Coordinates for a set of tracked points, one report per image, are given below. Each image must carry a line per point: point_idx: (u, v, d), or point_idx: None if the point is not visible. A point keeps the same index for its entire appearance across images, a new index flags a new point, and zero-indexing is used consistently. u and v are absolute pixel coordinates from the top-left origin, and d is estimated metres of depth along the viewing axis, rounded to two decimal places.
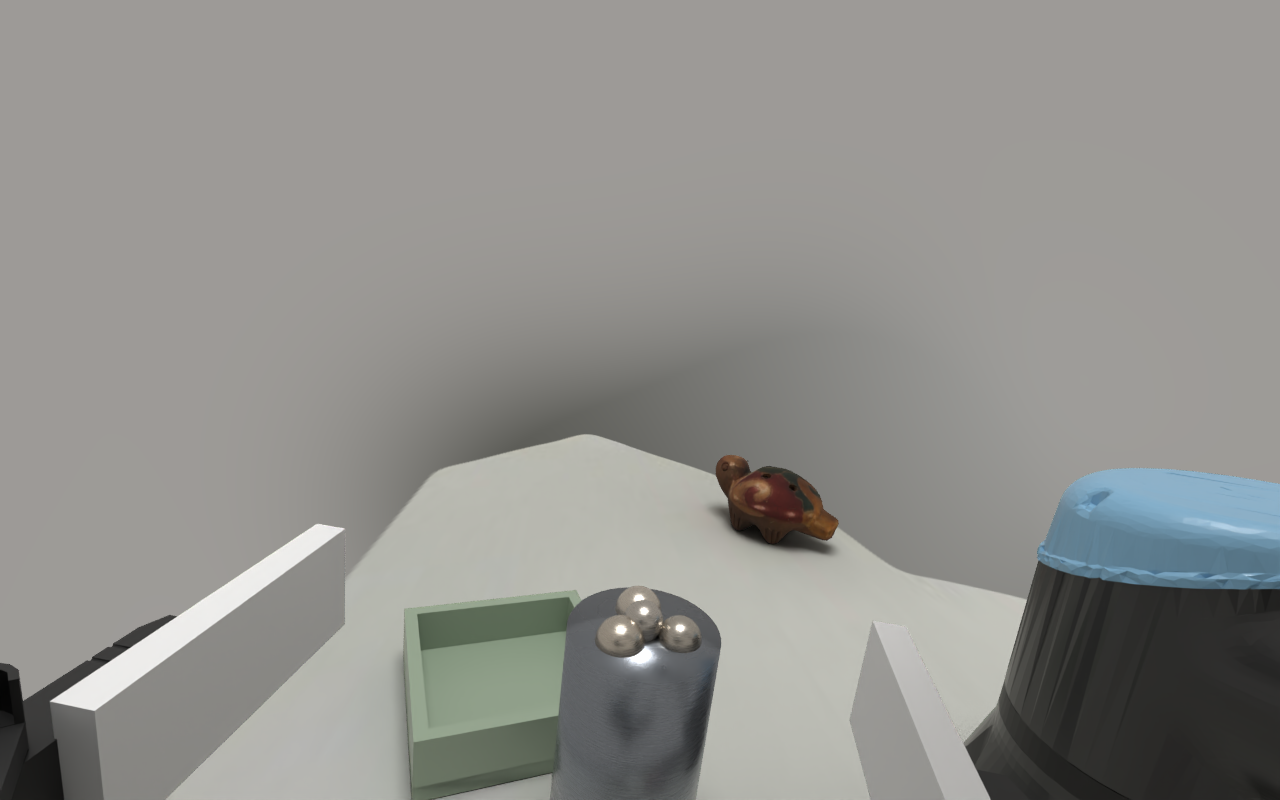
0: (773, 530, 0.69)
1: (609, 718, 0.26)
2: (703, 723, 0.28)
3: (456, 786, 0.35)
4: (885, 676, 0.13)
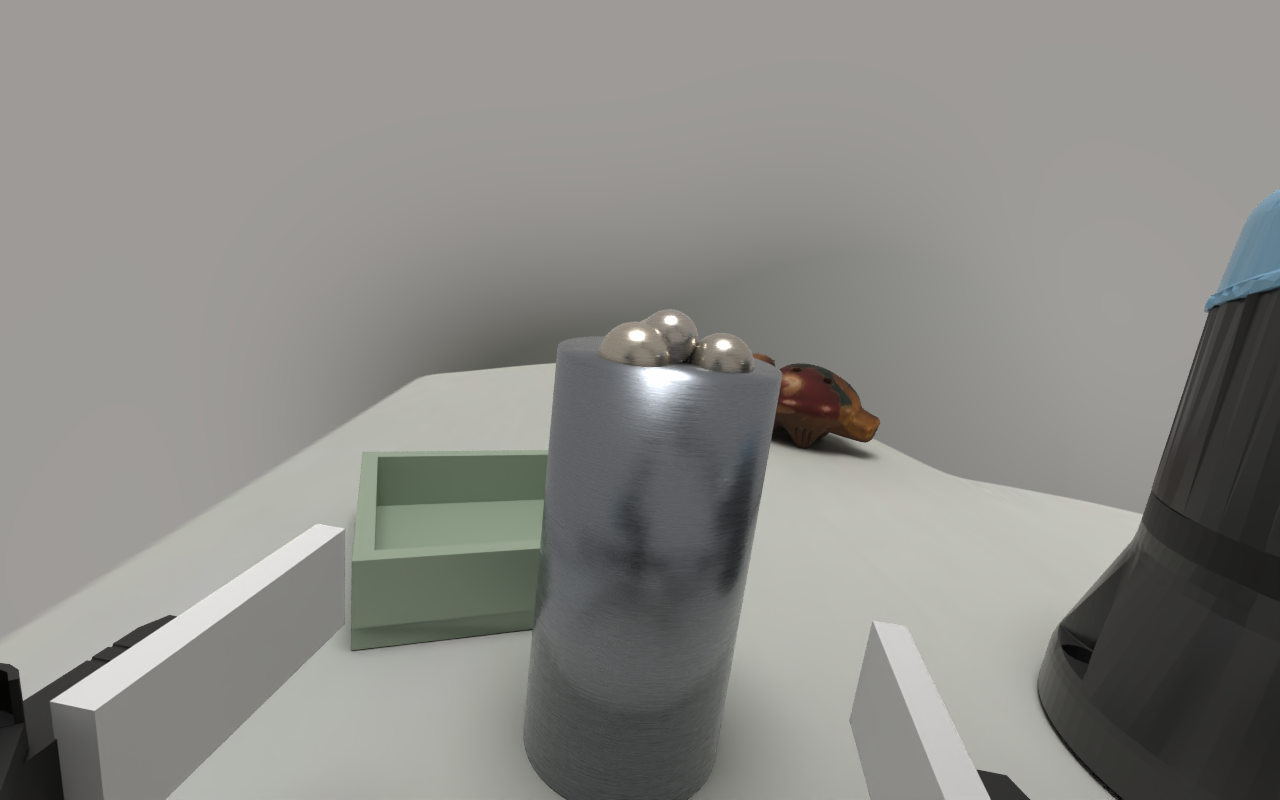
0: (804, 430, 0.60)
1: (620, 447, 0.17)
2: (757, 482, 0.19)
3: (412, 633, 0.27)
4: (885, 676, 0.13)
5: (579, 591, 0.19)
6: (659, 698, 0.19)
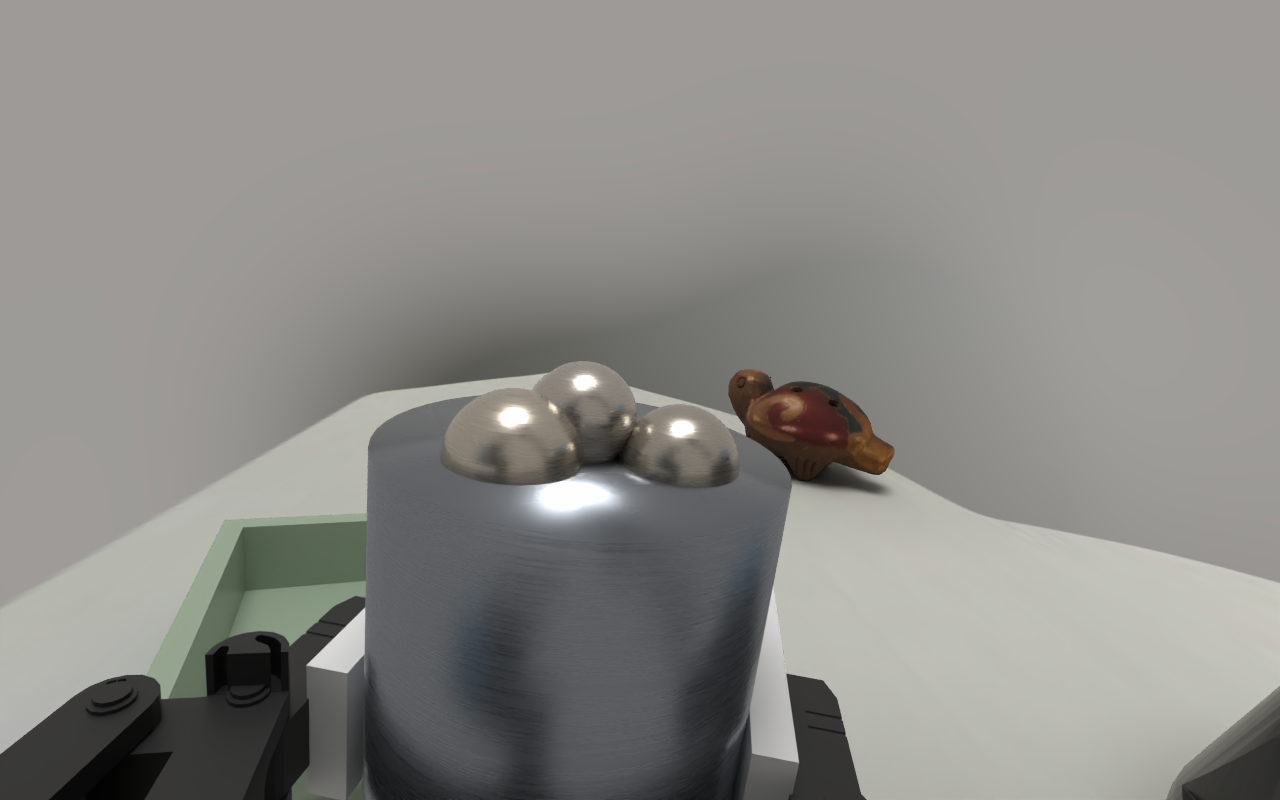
0: (806, 460, 0.51)
1: (459, 662, 0.08)
2: (744, 689, 0.10)
3: None
4: None
5: None
6: None
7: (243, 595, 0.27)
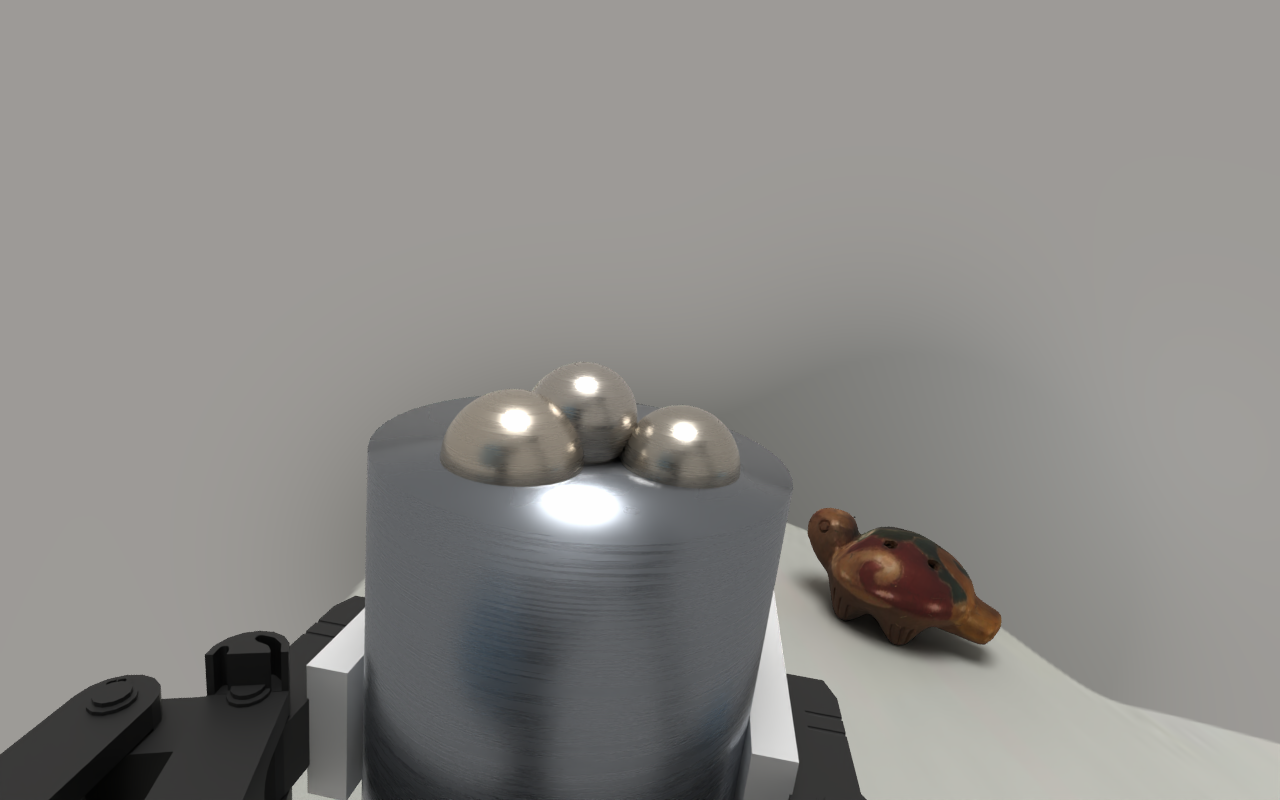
0: (903, 628, 0.47)
1: (459, 664, 0.08)
2: (745, 691, 0.10)
3: None
4: None
5: None
6: None
7: None
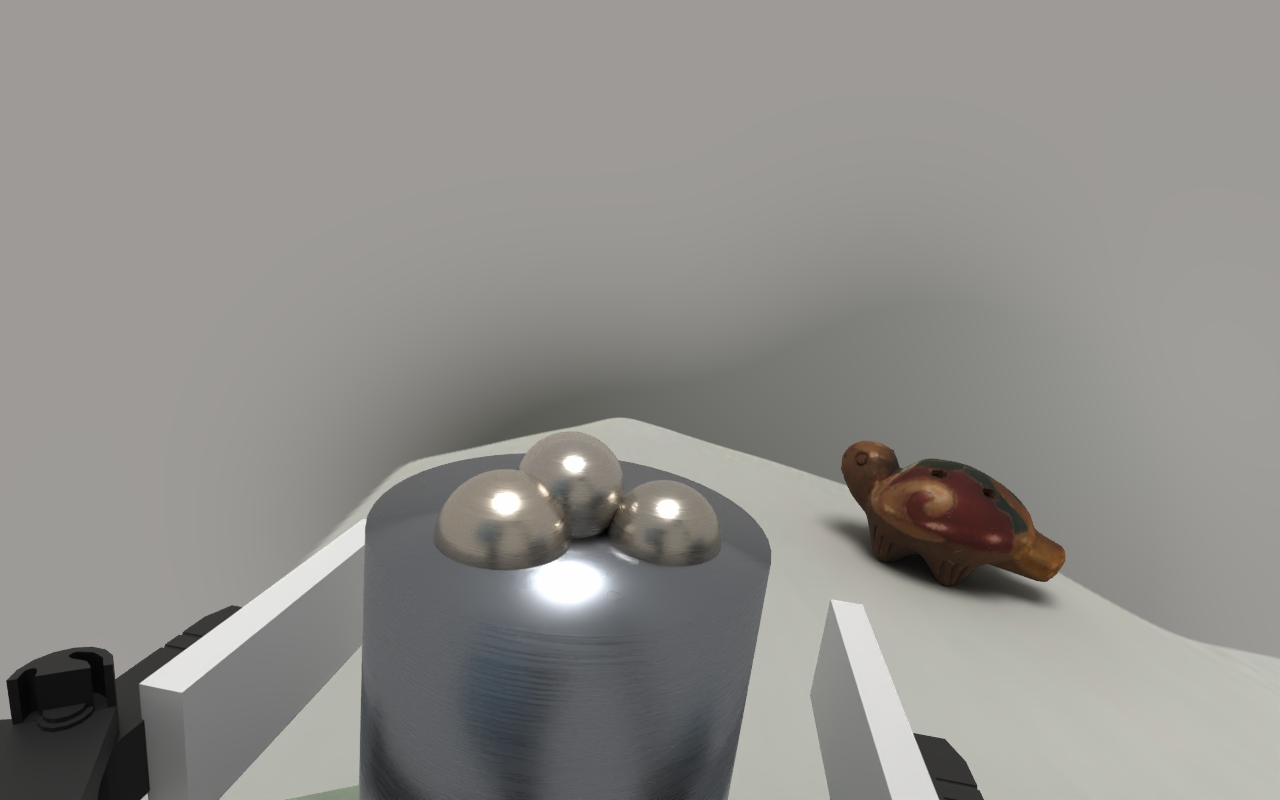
0: (956, 564, 0.42)
1: (450, 744, 0.09)
2: (725, 759, 0.10)
3: None
4: (838, 650, 0.14)
5: None
6: None
7: None
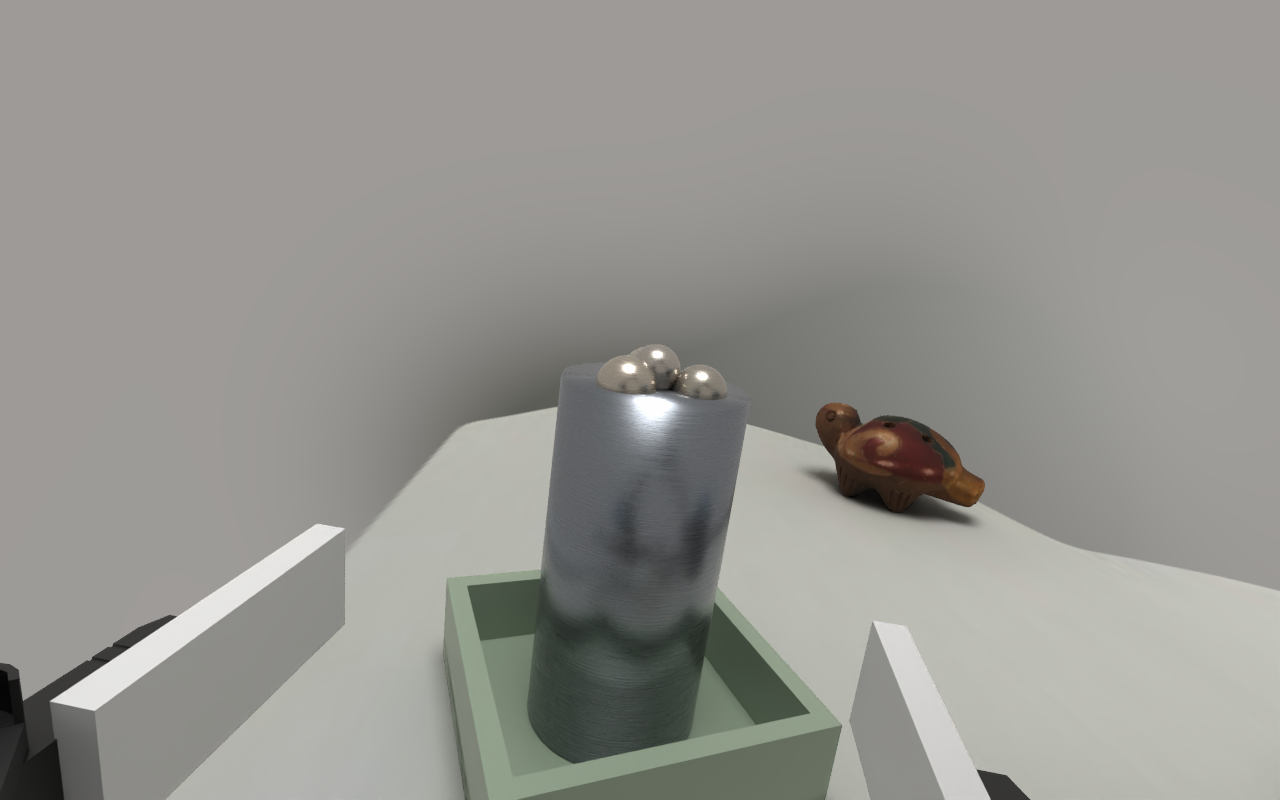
0: (901, 493, 0.54)
1: (612, 462, 0.21)
2: (727, 491, 0.22)
3: None
4: (885, 676, 0.13)
5: (577, 581, 0.22)
6: (643, 671, 0.23)
7: None
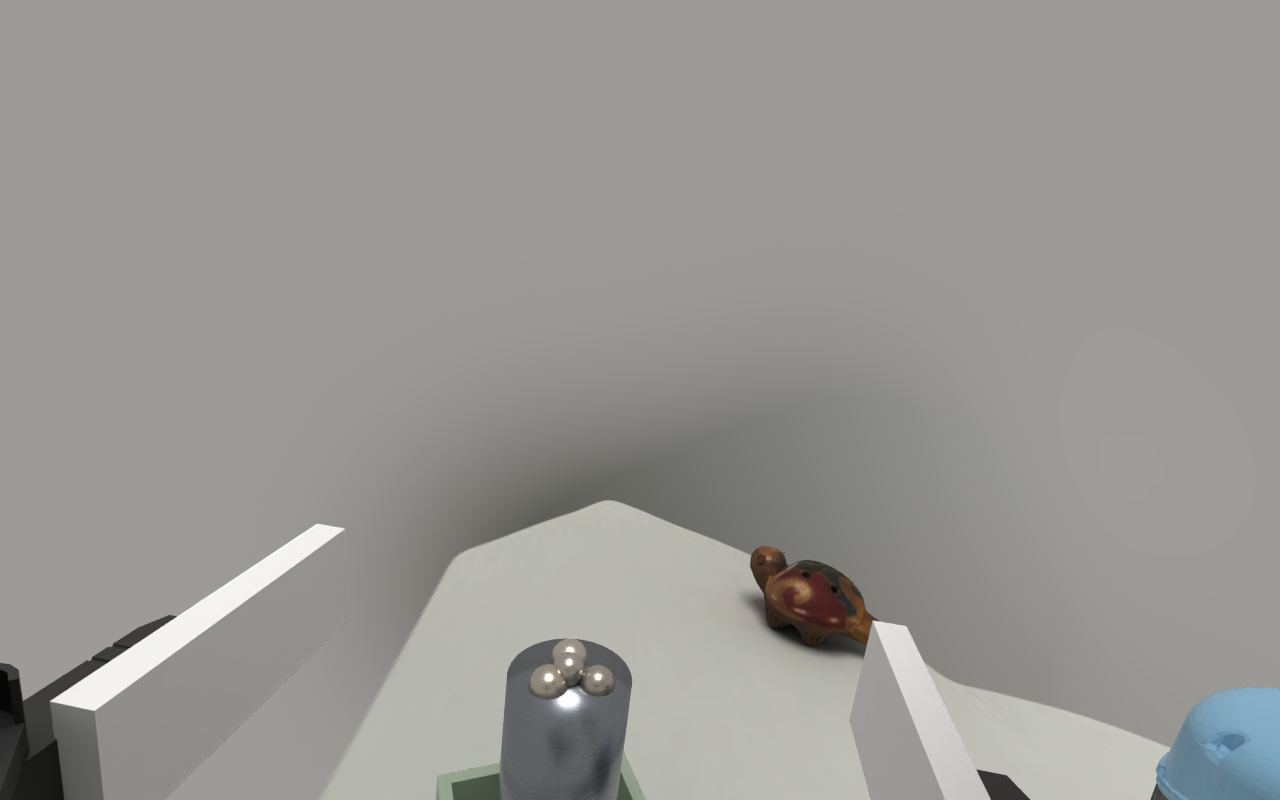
0: (813, 634, 0.66)
1: (534, 747, 0.33)
2: (614, 754, 0.35)
3: None
4: (885, 676, 0.13)
5: None
6: None
7: None
